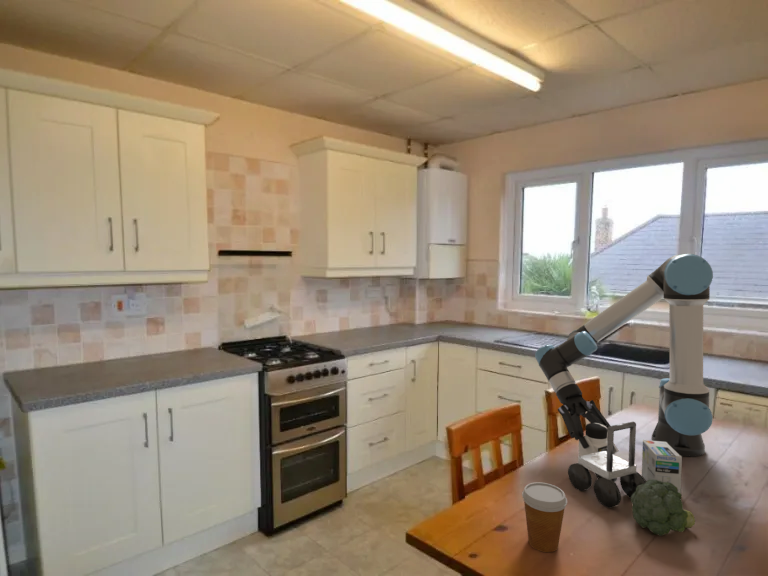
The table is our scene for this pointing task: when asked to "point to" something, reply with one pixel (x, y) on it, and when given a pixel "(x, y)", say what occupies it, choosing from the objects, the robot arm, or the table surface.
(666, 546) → the table surface
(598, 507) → the table surface
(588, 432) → the medicine bottle
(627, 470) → the trolley
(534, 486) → the disposable coffee cup
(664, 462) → the light bulb box
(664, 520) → the vegetable
